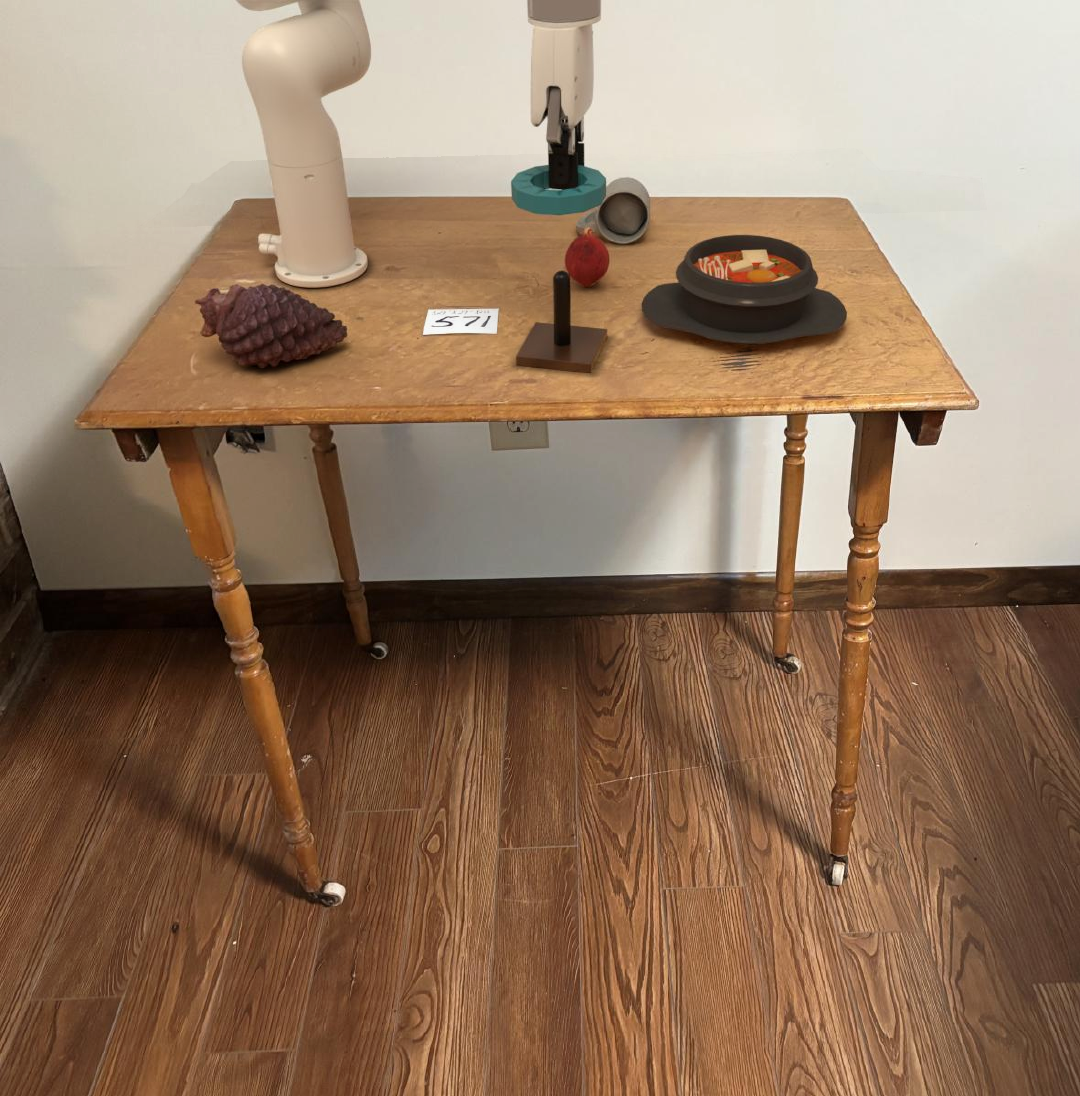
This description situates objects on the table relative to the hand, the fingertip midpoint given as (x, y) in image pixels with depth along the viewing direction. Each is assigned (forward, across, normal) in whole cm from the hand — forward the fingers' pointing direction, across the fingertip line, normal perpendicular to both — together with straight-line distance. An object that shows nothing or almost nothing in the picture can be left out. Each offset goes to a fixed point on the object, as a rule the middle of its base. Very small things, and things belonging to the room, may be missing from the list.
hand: (566, 182), depth 123 cm
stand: (+19, +4, 0) cm, 19 cm away
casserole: (+19, -8, +20) cm, 29 cm away
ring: (0, +4, 0) cm, 4 cm away
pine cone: (+19, +13, -33) cm, 40 cm away
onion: (+19, -14, -1) cm, 24 cm away
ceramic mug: (+19, -32, -1) cm, 37 cm away
